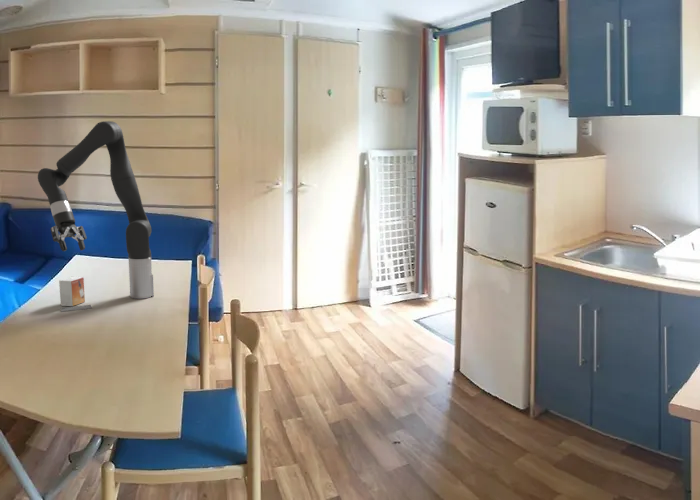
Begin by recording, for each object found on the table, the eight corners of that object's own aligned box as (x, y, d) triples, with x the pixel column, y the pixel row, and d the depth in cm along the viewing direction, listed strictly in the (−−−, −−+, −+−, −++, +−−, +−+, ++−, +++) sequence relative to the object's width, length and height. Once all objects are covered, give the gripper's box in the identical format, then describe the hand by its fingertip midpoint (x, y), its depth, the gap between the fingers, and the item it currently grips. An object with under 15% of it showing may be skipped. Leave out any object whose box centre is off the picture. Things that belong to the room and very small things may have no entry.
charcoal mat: (90, 305, 232) (90, 304, 232) (92, 308, 228) (92, 307, 228) (60, 308, 226) (60, 307, 226) (61, 311, 222) (61, 311, 222)
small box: (72, 306, 228) (70, 281, 227) (60, 305, 229) (58, 280, 228) (85, 301, 236) (84, 277, 234) (73, 300, 237) (71, 276, 235)
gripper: (52, 209, 227) (64, 247, 225) (82, 210, 240) (94, 246, 238) (41, 217, 230) (52, 254, 228) (71, 217, 243) (82, 252, 241)
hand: (74, 250), depth 233 cm, fingers open, 8 cm apart
